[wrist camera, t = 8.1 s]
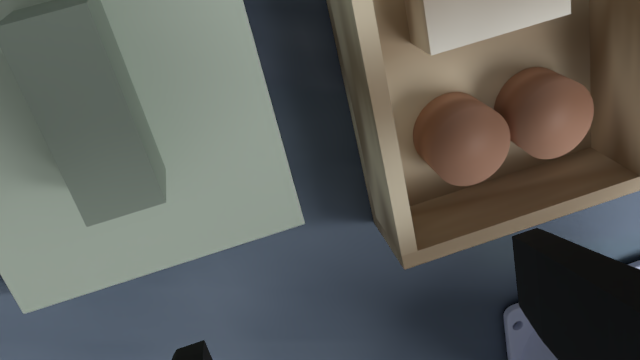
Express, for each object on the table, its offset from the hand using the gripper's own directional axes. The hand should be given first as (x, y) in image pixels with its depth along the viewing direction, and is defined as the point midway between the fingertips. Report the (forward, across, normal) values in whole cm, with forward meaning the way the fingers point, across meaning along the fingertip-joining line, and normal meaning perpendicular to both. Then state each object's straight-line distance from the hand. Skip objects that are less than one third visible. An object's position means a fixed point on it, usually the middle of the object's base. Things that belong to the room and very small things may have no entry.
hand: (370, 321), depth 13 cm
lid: (+10, +5, -4) cm, 12 cm away
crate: (+10, -8, -2) cm, 13 cm away
